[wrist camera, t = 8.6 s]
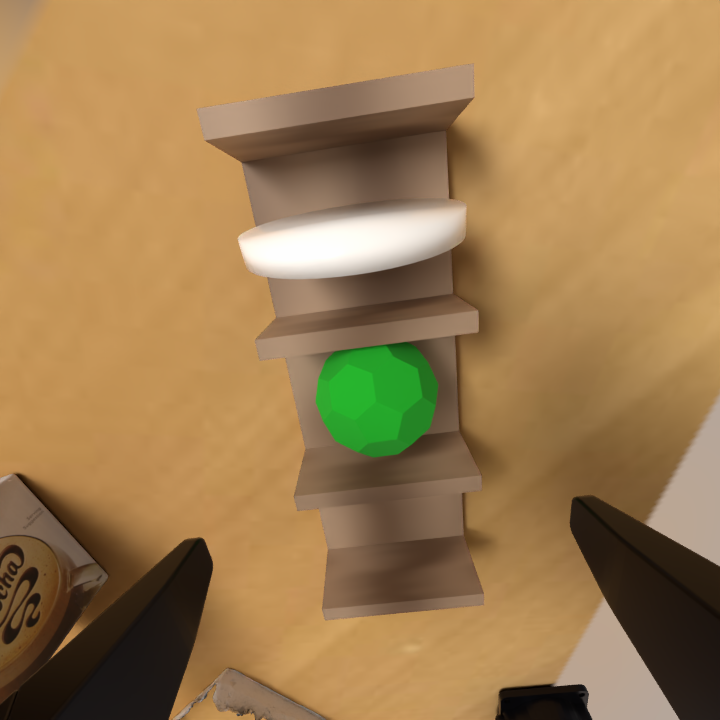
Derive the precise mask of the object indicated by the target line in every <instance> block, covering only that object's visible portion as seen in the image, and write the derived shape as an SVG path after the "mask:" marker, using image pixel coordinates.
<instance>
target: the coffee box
mask: <svg viewBox="0 0 720 720" xmlns="http://www.w3.org/2000/svg"><path fill="white" fill-rule="evenodd" d="M107 579H108V575H107V573H106V572H105V571H104V570H103V569H102V568H101V567H100V566H99V565H98V564H97V563H96V562H95V561H94V560H93V558H92V557H91V556H90V555H89V554H88V553H87V552H86V551H85V550H84V549H83V548H82V546H81V545H80V544H79V543H78V542H77V541H76V540H75V539H74V538H73V537H72V536H71V534H70V533H69V532H68V531H67V530H66V529H65V528H64V527H63V526H62V525H61V524H60V522H59V521H58V520H57V519H56V518H55V517H54V516H53V515H52V514H51V513H50V512H49V510H48V509H47V508H46V507H45V506H44V505H43V504H42V503H41V502H40V501H39V500H38V499H37V498H36V496H35V495H34V494H33V493H32V492H31V491H30V490H29V489H28V488H27V487H26V486H25V484H24V483H23V482H22V481H21V480H20V479H19V478H18V477H17V476H16V475H15V474H10V475H7V476H4V477H2V478H0V704H1V703H2V702H3V701H4V700H5V699H6V698H7V697H8V696H10V695H11V694H12V693H13V692H14V691H16V690H19V688H20V686H21V685H22V684H23V683H24V682H25V681H26V680H28V679H29V678H30V677H31V676H32V675H33V674H34V673H35V672H37V671H38V670H39V669H40V668H41V667H42V666H43V665H44V664H46V663H47V662H48V661H49V659H50V658H51V657H52V655H53V654H54V653H55V651H56V650H57V648H58V647H59V646H60V644H61V643H62V641H63V640H64V638H65V637H66V636H67V634H68V633H69V632H70V630H71V629H72V627H73V626H74V624H75V623H76V622H77V620H78V619H79V618H80V616H81V615H82V613H83V612H84V611H85V609H86V608H87V606H88V605H89V603H90V602H91V601H92V599H93V598H94V596H95V595H96V594H97V592H98V591H99V590H100V588H101V587H102V586H103V584H104V583H105V582H106V581H107Z"/></svg>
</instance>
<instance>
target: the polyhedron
mask: <svg viewBox="0 0 720 720" xmlns="http://www.w3.org/2000/svg"><path fill="white" fill-rule="evenodd" d="M437 392H438V382H437V380H436V378H435V376H434V374H433V372H432V369H431V367H430V365H429V363H428V361H427V360H426V359H425V358H424V356H423V355H422V354H421V353H420V351H419V350H418V349H417V347H416V346H414V345H412V344H410V343H408V342H400V343H393V344H385V345H377V346H370V347H362V348H354V349H347V350H339V351H335V352H334V353H333V354H332V355H331V356H329V357H328V358H327V359H326V361H325V363H324V366H323V368H322V371H321V373H320V376H319V378H318V385H317V393H316V401H315V402H316V405H317V407H318V410H319V412H320V415H321V417H322V420H323V422H324V424H325V425H326V427H327V428H328V430H329V432H330V433H331V435H332V436H333V438H334V440H335V441H336V442H338V443H340V444H342V445H344V446H346V447H348V448H350V449H352V450H354V451H356V452H358V453H361V454H364V455H367V456H370V457H373V458H374V457H381V456H389V455H396V454H399V453H401V452H402V451H403V450H405V449H406V448H408V447H409V446H410V445H412V444H413V443H414V442H415V441H416V440H417V439H418V438H419V437H421V436H422V435H423V434H424V433H425V432H426V431H427V430H428V429H429V428H430V426H431V422H432V418H433V415H434V411H435V407H436V400H437Z"/></svg>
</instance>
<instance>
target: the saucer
mask: <svg viewBox="0 0 720 720" xmlns="http://www.w3.org/2000/svg"><path fill="white" fill-rule="evenodd" d="M465 236H466V204H465V203H464V202H462V201H459V200H454V199H446V198H410V199H395V200H384V201H375V202H367V203H359V204H352V205H345V206H339V207H333V208H327V209H322V210H317V211H312V212H307V213H302V214H298V215H294V216H290V217H286V218H282V219H278V220H275V221H271V222H268V223H265V224H262V225H259V226H257V227H254V228H252V229H250V230H247V231H246V232H244V233H242V234H241V235H240V236H239V237H238V242H239V245H240V248H241V252H242V255H243V258H244V262H245V265H246V268H247V269H248V270H249V271H250V272H252V273H254V274H256V275H260V276H263V277H270V278H279V279H320V278H333V277H342V276H351V275H358V274H364V273H371V272H376V271H382V270H387V269H392V268H396V267H400V266H404V265H408V264H412V263H415V262H419V261H422V260H425V259H428V258H431V257H434V256H437V255H439V254H442V253H444V252H446V251H448V250H450V249H452V248H454V247H456V246H457V245H458V244H460V243H461V242H462V241H463V240H464V239H465Z"/></svg>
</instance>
